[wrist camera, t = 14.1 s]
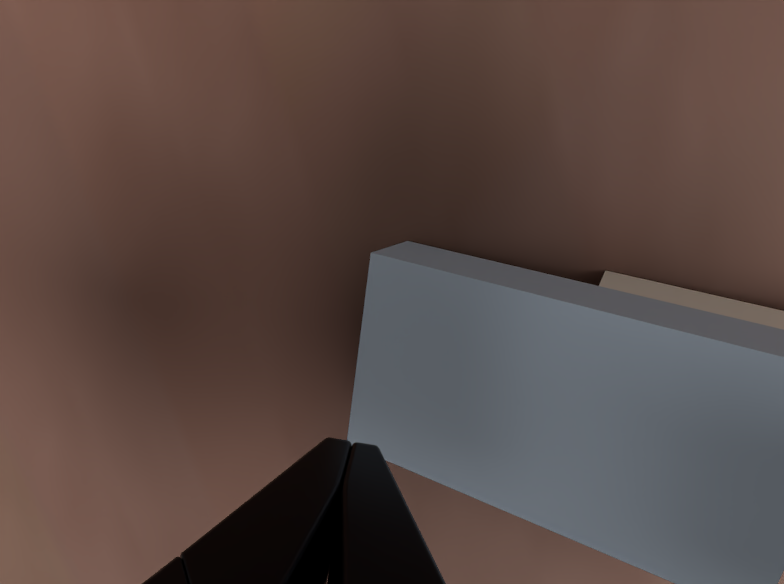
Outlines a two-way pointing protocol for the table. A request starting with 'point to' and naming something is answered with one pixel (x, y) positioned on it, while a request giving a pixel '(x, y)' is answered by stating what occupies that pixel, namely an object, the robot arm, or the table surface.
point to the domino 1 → (580, 410)
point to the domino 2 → (694, 299)
